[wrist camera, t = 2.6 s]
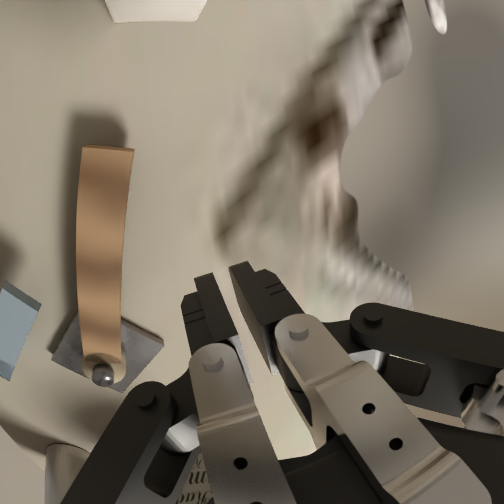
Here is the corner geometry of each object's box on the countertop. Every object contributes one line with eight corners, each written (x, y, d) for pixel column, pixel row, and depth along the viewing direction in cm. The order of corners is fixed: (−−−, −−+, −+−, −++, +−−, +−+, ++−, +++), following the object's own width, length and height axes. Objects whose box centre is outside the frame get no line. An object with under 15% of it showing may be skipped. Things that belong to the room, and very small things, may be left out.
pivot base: (122, 387, 34) (123, 416, 30) (52, 354, 29) (45, 383, 25) (163, 339, 32) (167, 370, 28) (85, 297, 27) (78, 327, 23)
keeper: (19, 350, 27) (9, 381, 23) (-7, 333, 25) (-20, 363, 21) (51, 281, 25) (38, 311, 21) (20, 260, 23) (2, 288, 19)
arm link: (126, 372, 31) (126, 385, 30) (85, 369, 30) (84, 382, 28) (140, 149, 22) (139, 152, 21) (82, 144, 20) (76, 146, 19)
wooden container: (213, 420, 42) (257, 545, 23) (229, 455, 49) (266, 551, 30) (125, 437, 39) (145, 562, 20) (157, 470, 46) (180, 567, 27)
